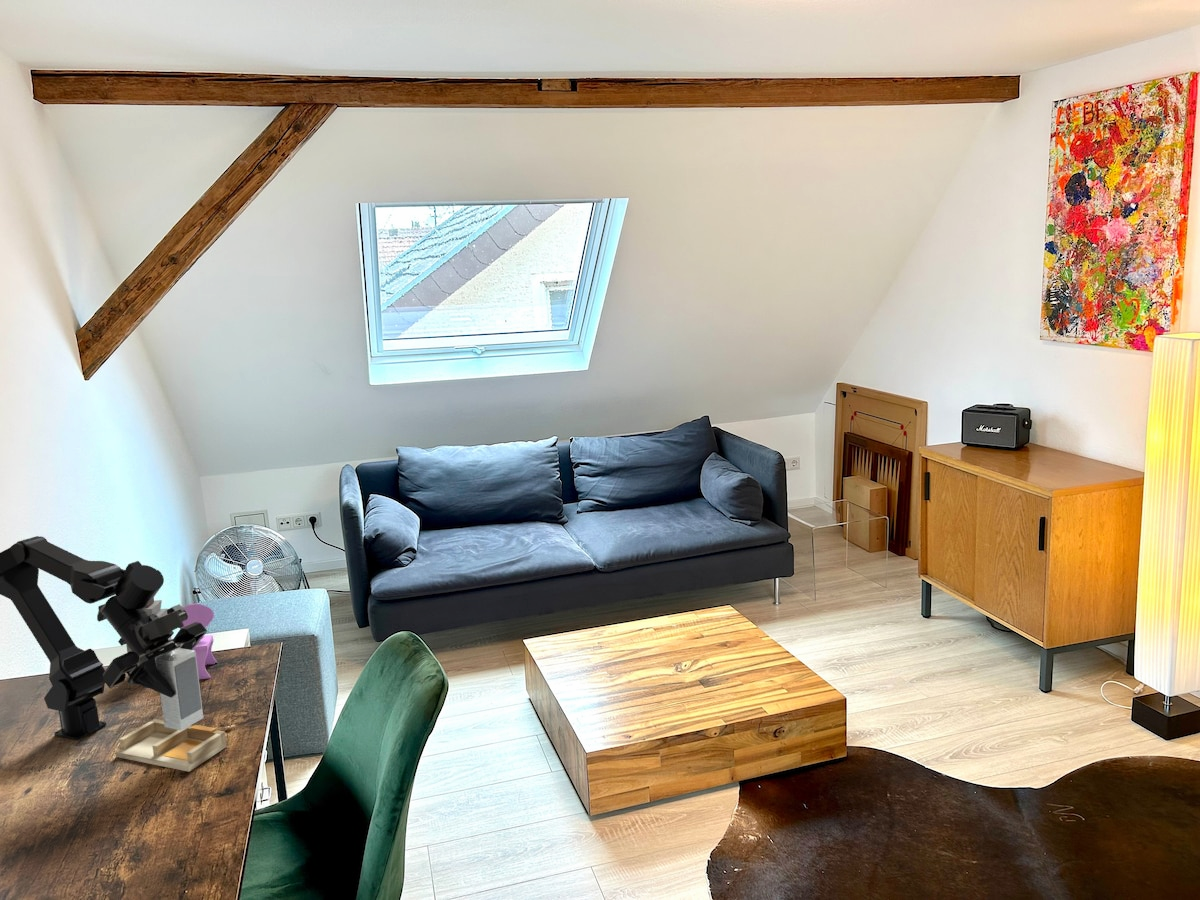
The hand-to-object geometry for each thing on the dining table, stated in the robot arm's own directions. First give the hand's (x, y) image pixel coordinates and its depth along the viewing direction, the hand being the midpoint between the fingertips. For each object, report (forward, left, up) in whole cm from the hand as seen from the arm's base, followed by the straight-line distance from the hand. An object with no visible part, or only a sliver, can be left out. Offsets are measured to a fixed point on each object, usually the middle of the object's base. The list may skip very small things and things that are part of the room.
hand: (185, 689), depth 162 cm
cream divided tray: (-5, 0, -13) cm, 14 cm away
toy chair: (-27, +29, -13) cm, 42 cm away
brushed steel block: (-1, 0, -7) cm, 7 cm away
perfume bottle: (-37, +26, -13) cm, 47 cm away
